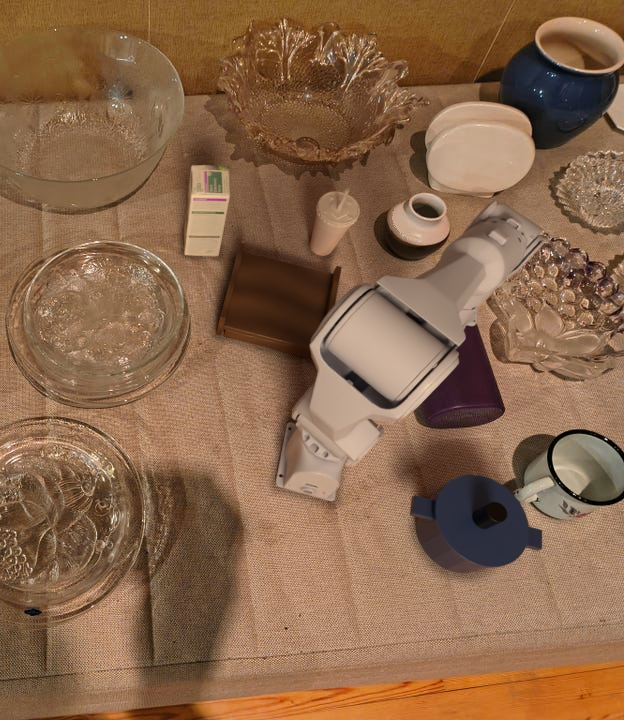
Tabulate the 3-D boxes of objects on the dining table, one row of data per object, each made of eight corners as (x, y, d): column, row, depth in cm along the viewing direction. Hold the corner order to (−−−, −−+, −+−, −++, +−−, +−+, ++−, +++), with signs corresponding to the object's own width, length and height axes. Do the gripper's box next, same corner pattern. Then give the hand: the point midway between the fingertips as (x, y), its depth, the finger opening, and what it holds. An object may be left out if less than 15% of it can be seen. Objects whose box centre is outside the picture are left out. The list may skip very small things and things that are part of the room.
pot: (514, 589, 84) (545, 580, 78) (391, 554, 85) (412, 542, 79) (516, 512, 88) (545, 498, 82) (399, 480, 90) (419, 464, 84)
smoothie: (298, 256, 106) (322, 197, 94) (305, 226, 109) (329, 165, 97) (337, 267, 106) (366, 209, 93) (344, 236, 108) (373, 176, 96)
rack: (318, 361, 98) (328, 345, 93) (215, 334, 99) (220, 317, 95) (332, 285, 104) (341, 266, 100) (235, 261, 106) (240, 242, 101)
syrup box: (219, 257, 106) (233, 195, 93) (182, 256, 106) (190, 194, 93) (218, 228, 108) (231, 165, 95) (182, 227, 108) (190, 163, 95)
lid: (523, 580, 78) (546, 573, 74) (428, 553, 79) (445, 545, 75) (524, 491, 83) (546, 480, 79) (435, 466, 84) (451, 454, 80)
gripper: (495, 351, 72) (441, 401, 84) (497, 247, 78) (447, 308, 90) (430, 335, 72) (385, 387, 85) (438, 233, 79) (395, 295, 91)
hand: (413, 345), depth 88 cm, fingers open, 7 cm apart
